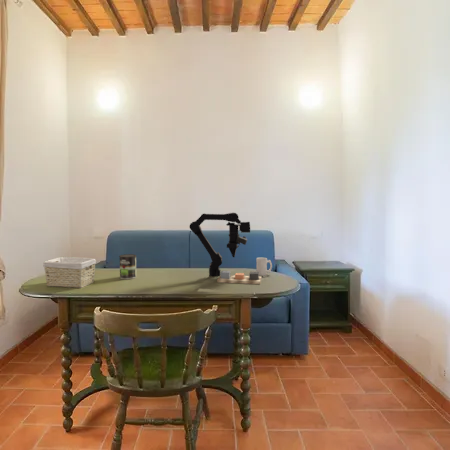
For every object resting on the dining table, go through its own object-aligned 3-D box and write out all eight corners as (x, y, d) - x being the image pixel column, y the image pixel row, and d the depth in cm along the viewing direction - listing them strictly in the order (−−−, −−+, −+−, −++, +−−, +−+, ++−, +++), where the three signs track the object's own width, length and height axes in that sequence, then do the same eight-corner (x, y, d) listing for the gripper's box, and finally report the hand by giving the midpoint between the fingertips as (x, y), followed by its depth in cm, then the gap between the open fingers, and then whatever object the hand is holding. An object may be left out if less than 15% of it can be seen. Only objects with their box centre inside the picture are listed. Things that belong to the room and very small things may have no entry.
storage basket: (97, 281, 195) (97, 257, 194) (82, 289, 179) (81, 262, 178) (61, 280, 199) (60, 256, 197) (42, 287, 183) (41, 261, 181)
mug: (256, 278, 204) (257, 259, 203) (255, 275, 211) (255, 257, 210) (272, 278, 204) (273, 259, 203) (271, 275, 211) (271, 257, 210)
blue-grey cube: (220, 280, 191) (220, 272, 191) (222, 278, 196) (222, 270, 196) (229, 281, 190) (229, 272, 190) (230, 279, 195) (230, 270, 195)
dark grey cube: (249, 282, 188) (249, 273, 188) (250, 279, 193) (250, 271, 193) (258, 282, 188) (258, 273, 187) (258, 280, 192) (258, 271, 192)
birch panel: (217, 284, 188) (217, 279, 188) (220, 279, 200) (220, 274, 200) (260, 286, 184) (260, 281, 184) (261, 281, 196) (261, 276, 196)
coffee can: (131, 279, 200) (131, 257, 199) (116, 278, 202) (116, 256, 201) (139, 276, 210) (139, 254, 209) (125, 275, 212) (124, 253, 211)
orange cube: (234, 283, 190) (235, 274, 190) (236, 281, 195) (236, 272, 194) (243, 283, 189) (243, 275, 189) (244, 281, 194) (244, 273, 194)
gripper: (245, 234, 193) (244, 260, 194) (248, 231, 211) (247, 255, 213) (226, 234, 195) (226, 259, 196) (231, 231, 213) (231, 254, 214)
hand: (233, 257), depth 205 cm, fingers closed
